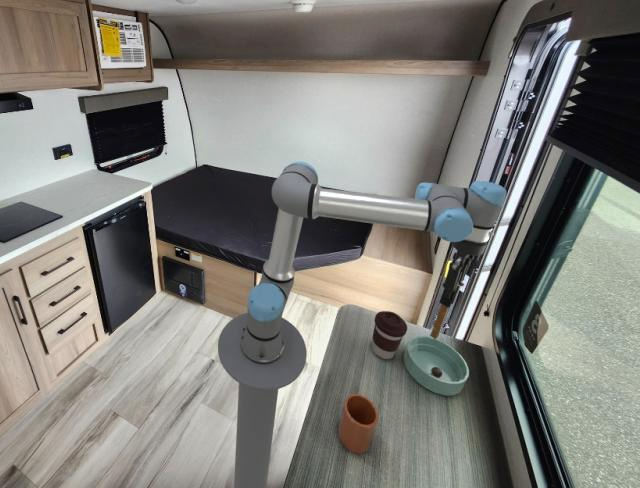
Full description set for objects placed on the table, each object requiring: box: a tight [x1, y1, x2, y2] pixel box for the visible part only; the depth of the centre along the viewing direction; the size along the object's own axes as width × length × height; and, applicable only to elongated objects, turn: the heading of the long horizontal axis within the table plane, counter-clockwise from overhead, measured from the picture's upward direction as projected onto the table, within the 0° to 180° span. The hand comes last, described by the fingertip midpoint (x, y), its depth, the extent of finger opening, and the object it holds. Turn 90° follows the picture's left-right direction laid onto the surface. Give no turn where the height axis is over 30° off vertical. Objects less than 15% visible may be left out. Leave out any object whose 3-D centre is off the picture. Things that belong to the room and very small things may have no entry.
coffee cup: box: [371, 310, 408, 360], centre depth 106 cm, size 10×10×15 cm
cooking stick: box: [429, 282, 459, 339], centre depth 95 cm, size 2×2×22 cm
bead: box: [431, 367, 442, 378], centre depth 100 cm, size 3×3×3 cm
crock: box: [337, 393, 379, 454], centre depth 82 cm, size 8×8×11 cm
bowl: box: [403, 335, 470, 397], centre depth 101 cm, size 17×17×6 cm
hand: (446, 302), depth 94 cm, fingers closed on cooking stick, 2 cm apart
